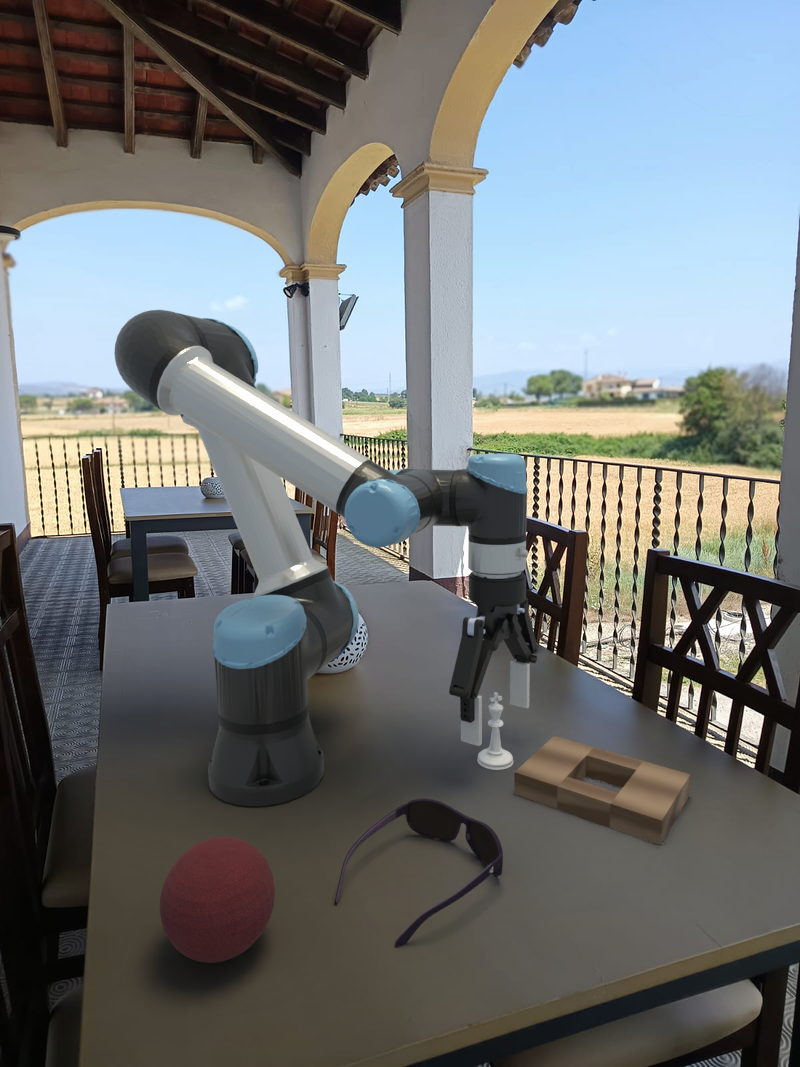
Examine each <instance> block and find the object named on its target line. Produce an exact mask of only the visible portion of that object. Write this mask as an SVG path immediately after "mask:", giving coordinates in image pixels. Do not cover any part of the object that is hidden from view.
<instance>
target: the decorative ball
mask: <svg viewBox="0 0 800 1067" xmlns="http://www.w3.org/2000/svg"><path fill="white" fill-rule="evenodd" d="M274 881H275V880H274V874H273V872H272V869H271V867H270V865H269V862H268V860H267V859H266V857H265V856H264V855H263V854H262V853H261V851H260V850H259V849H258V848H257V847H255V846H254V845H252V844H251V843H249V842H248V841H246V840H243V839H241V838H238V837H232V836H225V835H224V836H223V835H222V836H216V837H214V836H213V837H210V838H206V839H204V840H202V841H200V842H197V843H196V844H194V845H193V846H192V847H190V848H188V849H187V850H185V851H184V852H183V853H182V854H181V855H180V856H179V858H178V859H177V860H176V861H175V862H174V864H173V865H172V867H171V868H170V870H169V872H168V873H167V875H166V877H165V880H164V883H163V885H162V888H161V892H160V901H159V915H160V919H161V924H162V929H163V931H164V933H165V935H166V937H167V939H168V940H169V942H170V944H171V945H172V946H173V947H174V949H176V950H177V951H178V952H179V953H180V954H182V955H183V956H185V957H186V958H189V959H191V960H193V961H196V962H199V963H209V964H211V963H213V964H214V963H220V962H224V961H228V960H231V959H234V958H236V957H237V956H239V955H240V956H241V954H243V953H244V952H246V951H247V950H249V948H251V947H252V946H253V944H255V943H256V941H257V940H259V938H260V937H261V936H262V934H263V932H264V931H265V929H266V927H267V926H268V924H269V921H270V919H271V917H272V913H273V910H274V906H275V897H276V888H275V887H276V886H275V882H274Z"/></svg>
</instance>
